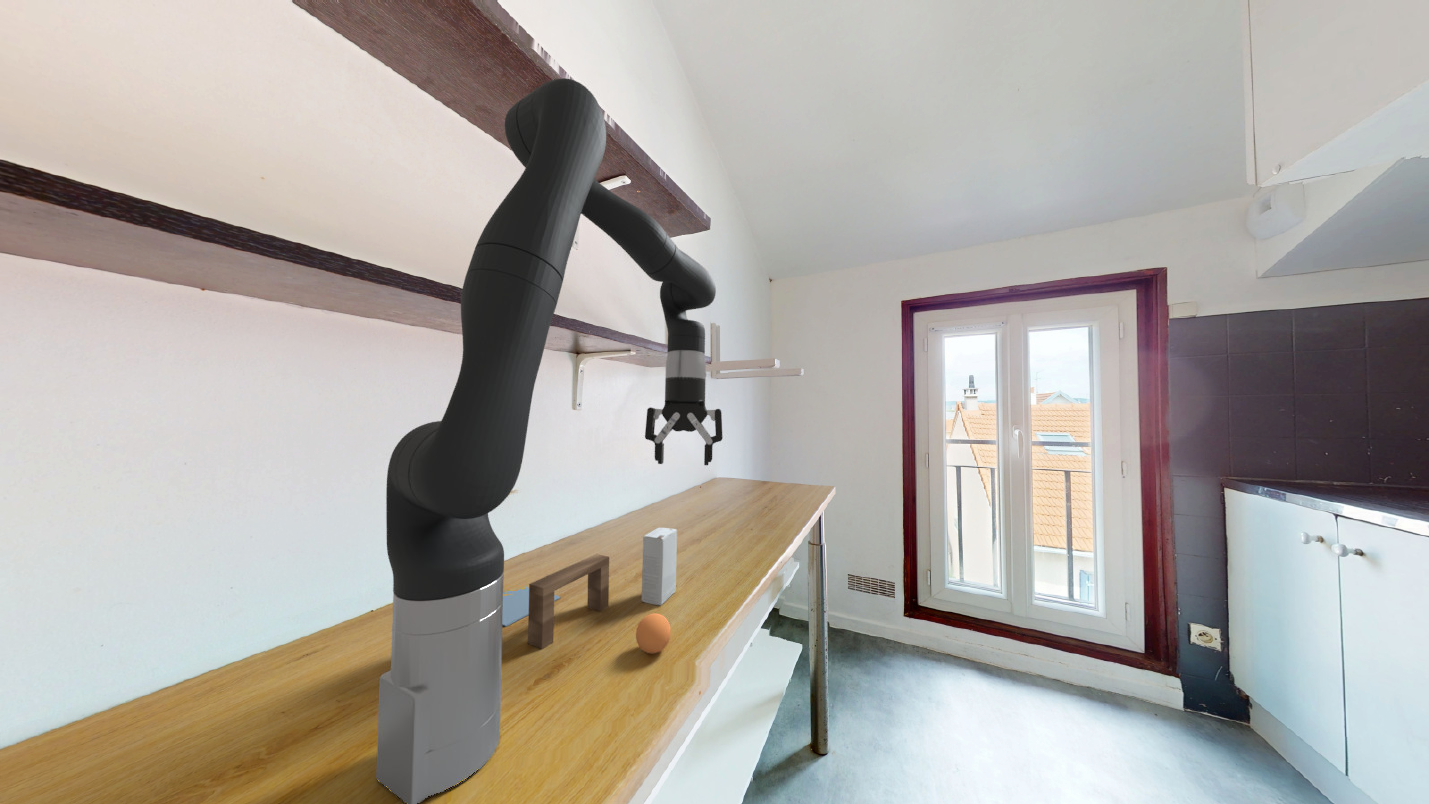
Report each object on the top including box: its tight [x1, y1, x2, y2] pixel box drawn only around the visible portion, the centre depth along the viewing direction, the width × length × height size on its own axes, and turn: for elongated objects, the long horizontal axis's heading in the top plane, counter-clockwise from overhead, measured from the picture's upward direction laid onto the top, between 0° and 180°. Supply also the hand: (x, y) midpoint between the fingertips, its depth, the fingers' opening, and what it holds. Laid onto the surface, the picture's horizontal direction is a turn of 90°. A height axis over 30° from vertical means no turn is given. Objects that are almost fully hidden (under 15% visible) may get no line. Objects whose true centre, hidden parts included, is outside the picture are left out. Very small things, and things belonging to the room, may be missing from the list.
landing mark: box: [502, 586, 562, 627], centre depth 70 cm, size 11×11×1 cm
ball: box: [635, 613, 672, 655], centre depth 56 cm, size 5×5×5 cm
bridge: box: [527, 553, 610, 650], centre depth 64 cm, size 3×14×9 cm, turn 154°
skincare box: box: [641, 527, 678, 606], centre depth 73 cm, size 6×4×12 cm
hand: (683, 464), depth 73 cm, fingers open, 8 cm apart
